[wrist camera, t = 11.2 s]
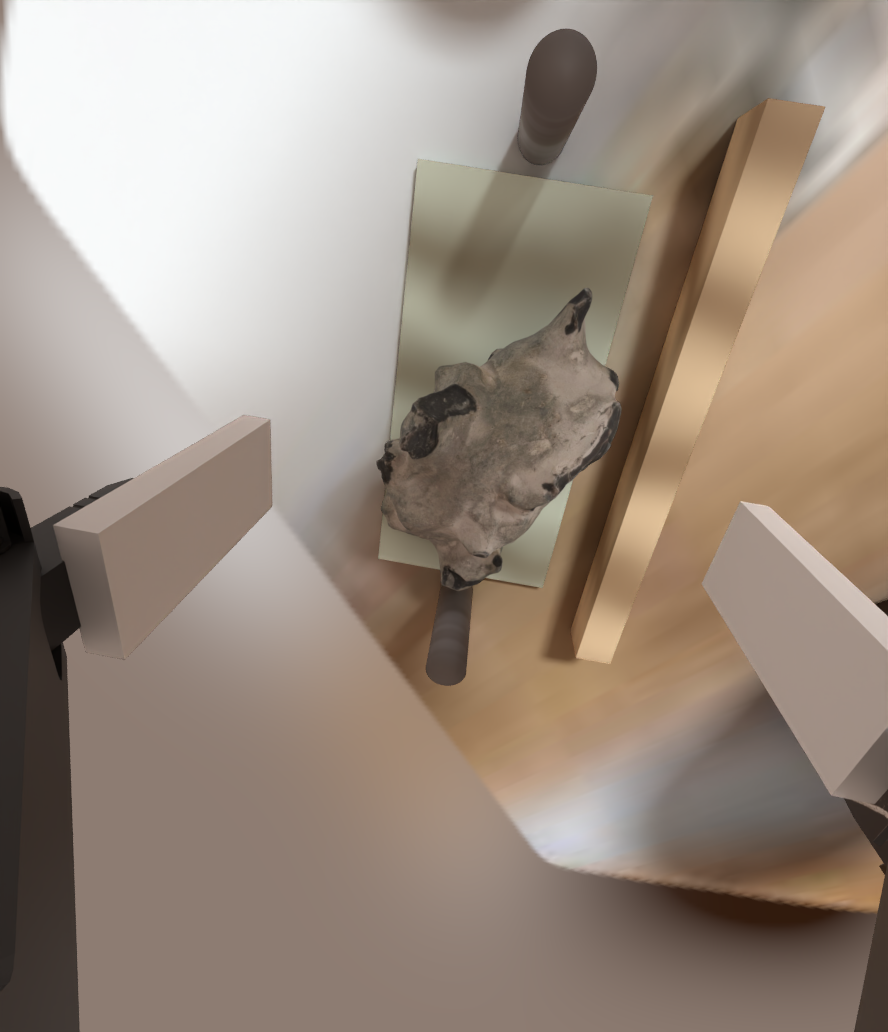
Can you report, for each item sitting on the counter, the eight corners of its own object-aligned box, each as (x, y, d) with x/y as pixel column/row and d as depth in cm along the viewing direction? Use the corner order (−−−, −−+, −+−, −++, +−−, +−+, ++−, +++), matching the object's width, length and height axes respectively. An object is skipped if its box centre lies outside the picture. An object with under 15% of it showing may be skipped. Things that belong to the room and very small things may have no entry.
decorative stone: (519, 598, 29) (477, 710, 20) (384, 529, 31) (288, 603, 22) (665, 326, 23) (699, 311, 14) (486, 254, 24) (410, 196, 15)
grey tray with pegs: (428, 71, 20) (396, -22, 14) (788, 126, 20) (923, 56, 13) (375, 595, 32) (344, 674, 25) (602, 636, 31) (627, 726, 25)
